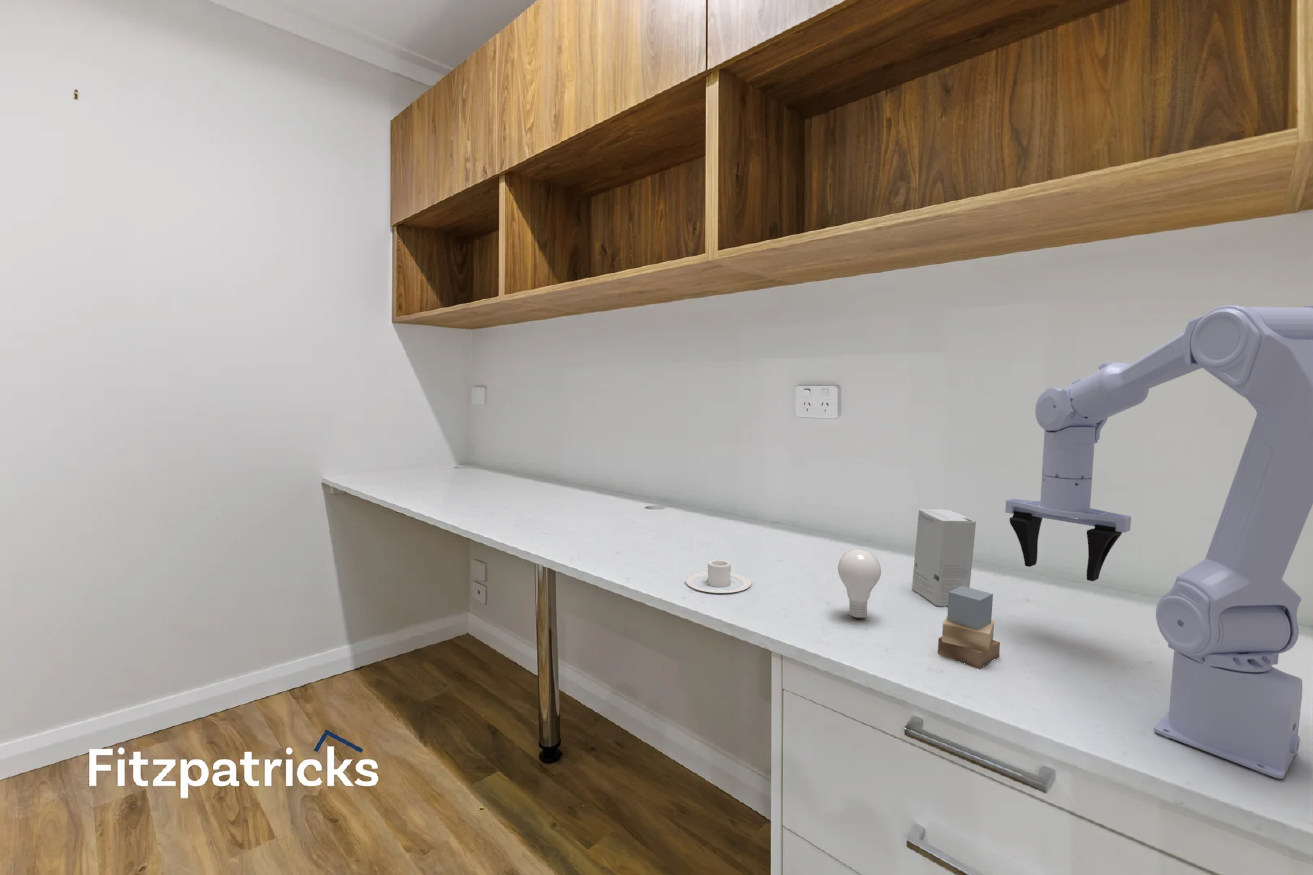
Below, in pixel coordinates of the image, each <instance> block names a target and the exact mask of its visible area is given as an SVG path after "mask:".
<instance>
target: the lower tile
mask: <svg viewBox="0 0 1313 875" xmlns="http://www.w3.org/2000/svg"><path fill="white" fill-rule="evenodd" d="M1000 646H1001V641H997V640H995V639H993V640H992V643H991V646H990V650H989V653H988V652H984V651H979V650H975V649H971V648H966V647H962V646H958V645H953V644H949V643H945V642H942V636H940V637H938V642H937V654H938V655H940V656H943V657H945V658H948V659H950V660H953V659H954V661H957V662H958V661H959V662H958V663H961V664H964V663H965V664H964V665H966V664H967V666H969V667H971V668H974V669H977V668H978V669H977V670H980V669H982V668H984V667H986V666H987V665H989V664H991V663H992V662H991V661H992V660H994V659H996V660H997V658H998V657H999V658H1000V648H1001V647H1000ZM999 658H998V659H999ZM994 661H995V660H994ZM990 662H991V663H990ZM988 663H989V664H988ZM986 664H987V665H986ZM985 665H986V666H985ZM983 666H984V667H983Z"/></svg>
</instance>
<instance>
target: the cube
mask: <svg viewBox="0 0 1313 875" xmlns="http://www.w3.org/2000/svg"><path fill="white" fill-rule="evenodd" d="M993 597H994V593H990V592H987V591H983V590H979V589H975V588H971V587H970V588H968V587H965V586H961V587H959V588H957V589H954V590H952V591H950V592H949V597H948V606H947V616H946V617H947V621H950V622H953V623H956V624H960V625H963V626H966V627H969V628H972V629H975V630H980V629H981V628H983V627H985V626H987V625H988V624H990V623H991V619H992V616H993V614H992V613H993V600H994V598H993Z"/></svg>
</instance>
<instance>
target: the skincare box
mask: <svg viewBox="0 0 1313 875" xmlns="http://www.w3.org/2000/svg"><path fill="white" fill-rule="evenodd" d="M976 523H977V521H975V520H974V519H971V518H969V517H967V516H965V515H963V514H962V513H958V512H955V511H954V510H953V511H952V510H950V509H945V508H944V509H943V508H940V509H939V508H932V509H931V508H930V509H929V508H919V509H918V517H917V527H916V528H917V530H916V540H915V549H914V550H915V551H914V563H913V570H912V571H913V574H912V583H911V586H912V587H911V589H912V590H913V591H914V592H915V593H917V594H919V595H920V596H921V597H923V598H924V599H926V600H928V601H929V602H930V603H932V604H933V605H935V606H937V607H948V597H949V592H950V591H952V590H954V589H957V588H959V587H961V586H965V587H968V588H971V579H972V578H971V576H972V567H973V557H974V546H975V536H976Z"/></svg>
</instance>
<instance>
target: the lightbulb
mask: <svg viewBox="0 0 1313 875" xmlns="http://www.w3.org/2000/svg"><path fill="white" fill-rule="evenodd" d="M837 573H838V576H839V578H840V580H841V582H842V583H843V586H844V587H845V589H846V593H847V597H848V601H849V602H848V603H849V604H848V609H849V610H848V611H849V612H848V615H850V616H851V617H853V618H854V619H856V620H860V619H861V620H862V619H863V618H866V617H867V616H868V601H869V599H870V596H871V592H872V590H873V589H874V588H875V587H876V585H877V584H878V582H879V581H880V579H881V576H882V566H881V564H880V562H879V560H878V558H877V557H876V556H875V555H874V554H873V553H872V552H870V551H868V550H866V549H862V548H853V549H850V550H848V551H846V552H845V553H843V554H842V556H841V557H840V559H839V561H838V564H837Z"/></svg>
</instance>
